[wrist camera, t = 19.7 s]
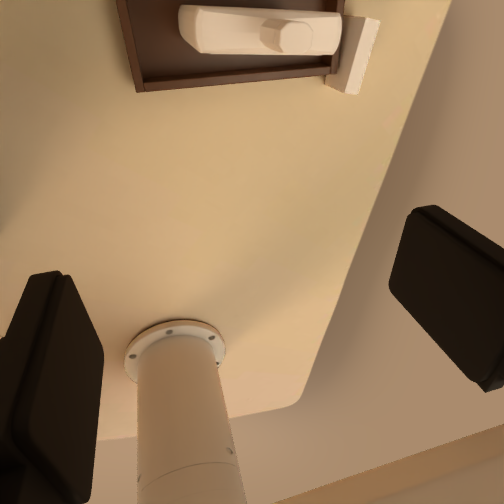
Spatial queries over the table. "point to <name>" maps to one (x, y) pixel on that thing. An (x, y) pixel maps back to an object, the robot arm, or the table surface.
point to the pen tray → (205, 64)
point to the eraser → (353, 53)
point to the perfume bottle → (259, 30)
